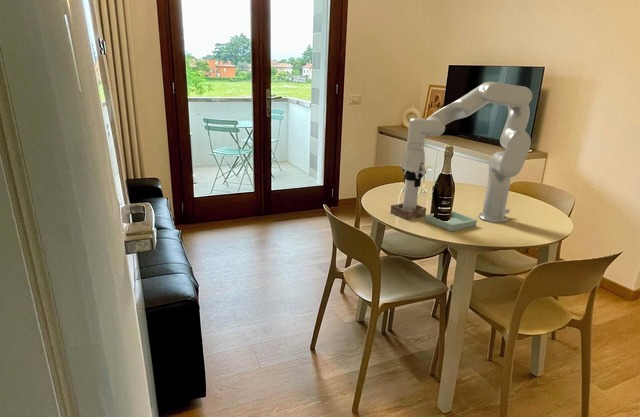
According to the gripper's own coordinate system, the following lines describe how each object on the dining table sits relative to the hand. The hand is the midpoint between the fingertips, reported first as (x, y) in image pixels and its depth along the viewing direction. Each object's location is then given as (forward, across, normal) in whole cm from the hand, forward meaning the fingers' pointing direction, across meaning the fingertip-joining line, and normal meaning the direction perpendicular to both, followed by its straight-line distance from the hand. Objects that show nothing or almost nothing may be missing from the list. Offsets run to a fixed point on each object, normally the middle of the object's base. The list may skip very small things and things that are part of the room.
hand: (411, 184), depth 195 cm
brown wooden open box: (+15, 0, 0) cm, 15 cm away
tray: (+15, +18, +8) cm, 25 cm away
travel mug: (+14, 0, 0) cm, 14 cm away
